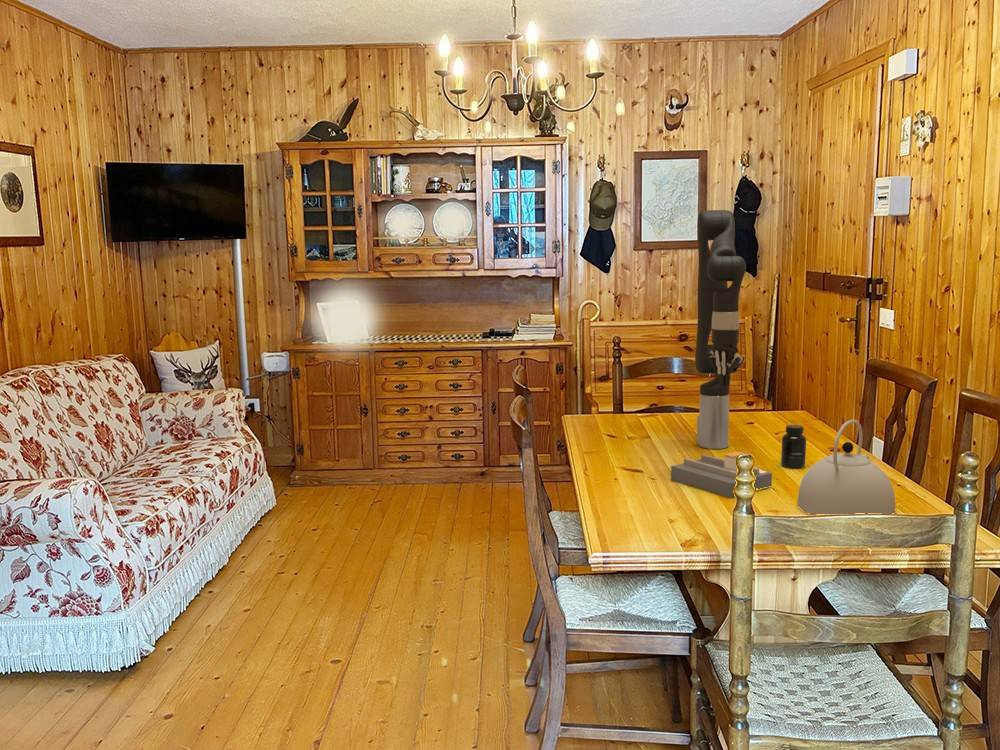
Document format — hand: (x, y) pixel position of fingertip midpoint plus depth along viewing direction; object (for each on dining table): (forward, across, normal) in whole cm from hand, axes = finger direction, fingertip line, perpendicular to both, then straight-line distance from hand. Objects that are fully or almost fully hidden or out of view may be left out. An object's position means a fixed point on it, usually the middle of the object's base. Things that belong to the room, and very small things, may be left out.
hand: (724, 387), depth 248 cm
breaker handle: (+21, +13, -10) cm, 26 cm away
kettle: (+25, +42, -1) cm, 49 cm away
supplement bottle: (+25, +9, +20) cm, 33 cm away
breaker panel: (+25, +8, -10) cm, 28 cm away
